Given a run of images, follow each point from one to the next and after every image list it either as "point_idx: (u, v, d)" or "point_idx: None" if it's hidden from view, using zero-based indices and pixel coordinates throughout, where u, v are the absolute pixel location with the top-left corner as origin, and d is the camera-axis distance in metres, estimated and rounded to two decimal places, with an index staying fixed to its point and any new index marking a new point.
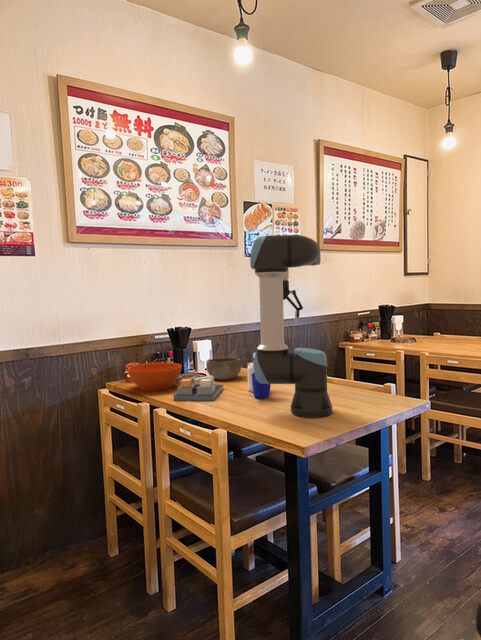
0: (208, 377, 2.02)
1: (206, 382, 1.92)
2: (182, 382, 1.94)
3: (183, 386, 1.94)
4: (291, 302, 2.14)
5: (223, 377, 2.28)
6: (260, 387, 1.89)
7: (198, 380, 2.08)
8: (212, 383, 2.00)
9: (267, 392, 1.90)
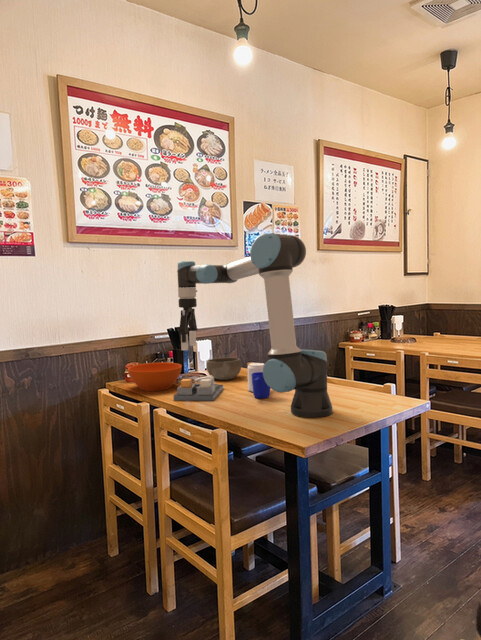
0: (208, 377, 2.02)
1: (206, 382, 1.92)
2: (182, 382, 1.94)
3: (183, 386, 1.94)
4: None
5: (223, 377, 2.28)
6: (260, 387, 1.89)
7: (198, 380, 2.08)
8: (212, 383, 2.00)
9: (267, 392, 1.90)
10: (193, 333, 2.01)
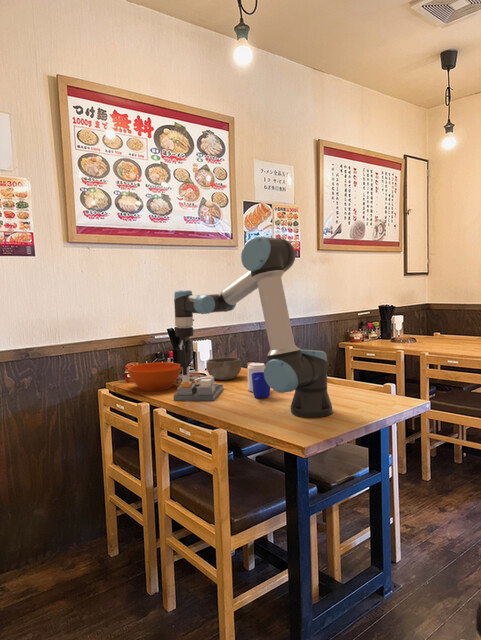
0: (208, 377, 2.02)
1: (206, 382, 1.92)
2: (182, 385, 1.94)
3: None
4: None
5: (223, 377, 2.28)
6: (260, 387, 1.89)
7: (198, 380, 2.08)
8: (212, 383, 2.00)
9: (267, 392, 1.90)
10: None
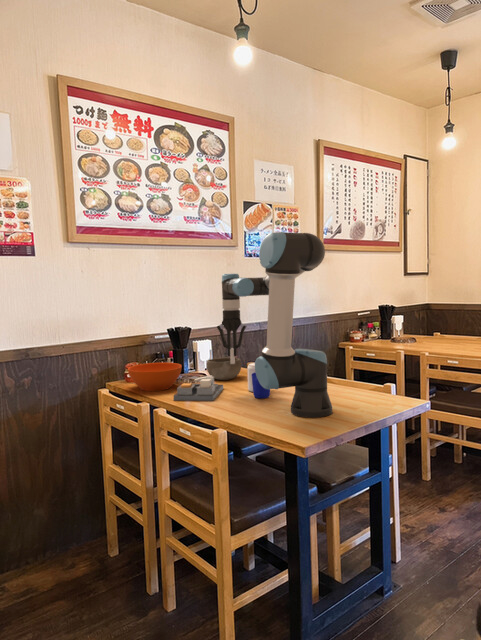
0: (208, 377, 2.02)
1: (206, 382, 1.92)
2: (182, 386, 1.94)
3: None
4: (234, 337, 1.98)
5: (223, 377, 2.28)
6: (260, 387, 1.89)
7: (198, 380, 2.08)
8: (212, 383, 2.00)
9: (267, 392, 1.90)
10: None
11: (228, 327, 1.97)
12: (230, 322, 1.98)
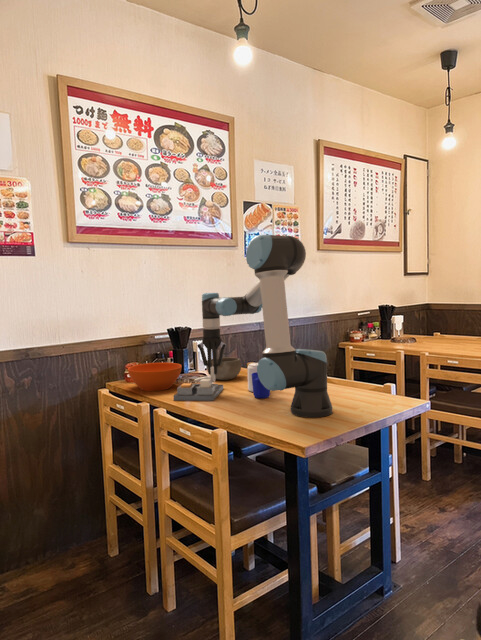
0: (206, 377, 2.02)
1: (206, 382, 1.92)
2: (182, 386, 1.94)
3: None
4: (214, 355, 2.00)
5: (223, 377, 2.28)
6: (260, 387, 1.89)
7: (198, 380, 2.08)
8: None
9: (267, 392, 1.90)
10: None
11: (208, 346, 1.99)
12: (210, 341, 2.00)
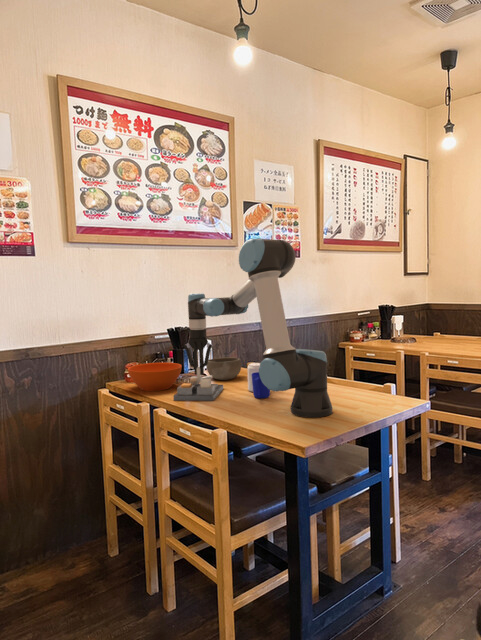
0: (193, 377, 2.03)
1: (206, 382, 1.92)
2: (182, 386, 1.94)
3: None
4: (200, 356, 2.01)
5: (223, 377, 2.28)
6: (260, 387, 1.89)
7: None
8: (196, 383, 2.01)
9: (267, 392, 1.90)
10: None
11: (194, 346, 2.00)
12: (196, 341, 2.00)
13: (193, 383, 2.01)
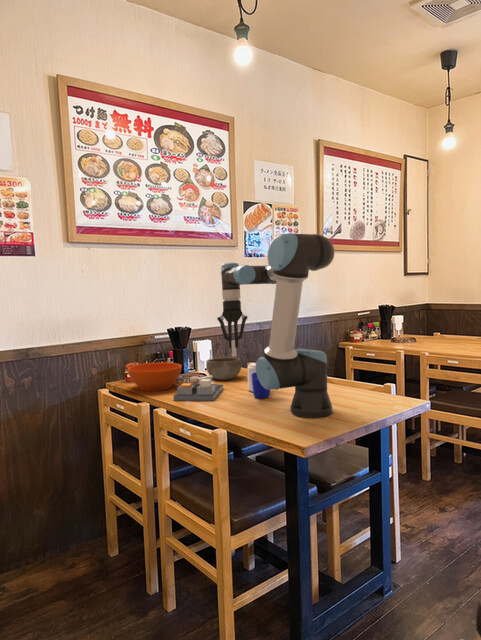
0: (193, 377, 2.03)
1: (206, 382, 1.92)
2: (182, 386, 1.94)
3: None
4: (235, 328, 1.92)
5: (223, 377, 2.28)
6: (260, 387, 1.89)
7: None
8: (196, 383, 2.01)
9: (267, 392, 1.90)
10: None
11: (229, 318, 1.92)
12: (231, 313, 1.92)
13: (193, 383, 2.01)
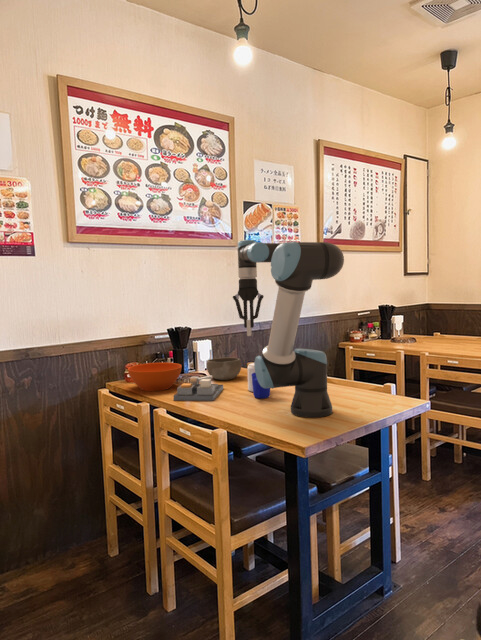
0: (193, 377, 2.03)
1: (206, 382, 1.92)
2: (182, 386, 1.94)
3: None
4: (251, 307, 1.88)
5: (223, 377, 2.28)
6: (260, 387, 1.89)
7: None
8: (196, 383, 2.01)
9: (267, 392, 1.90)
10: None
11: (244, 297, 1.87)
12: (247, 292, 1.88)
13: (193, 383, 2.01)
